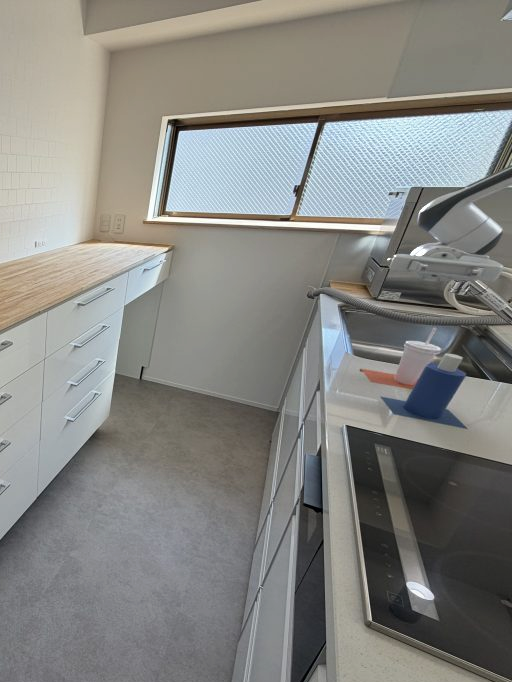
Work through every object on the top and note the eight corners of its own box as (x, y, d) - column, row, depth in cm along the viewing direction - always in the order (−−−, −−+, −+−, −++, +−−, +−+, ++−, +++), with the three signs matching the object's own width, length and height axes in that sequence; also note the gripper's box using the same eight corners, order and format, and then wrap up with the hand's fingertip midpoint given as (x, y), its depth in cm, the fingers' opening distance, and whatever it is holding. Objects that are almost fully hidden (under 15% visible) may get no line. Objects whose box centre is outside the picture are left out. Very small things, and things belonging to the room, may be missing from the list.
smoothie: (428, 387, 99) (459, 333, 93) (401, 386, 99) (431, 331, 93) (405, 376, 105) (433, 324, 99) (380, 375, 105) (407, 322, 99)
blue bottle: (433, 408, 90) (466, 353, 84) (445, 421, 85) (481, 364, 79) (398, 402, 92) (428, 348, 86) (409, 414, 87) (441, 357, 81)
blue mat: (446, 411, 90) (448, 409, 90) (467, 431, 83) (468, 429, 83) (379, 398, 94) (380, 396, 94) (392, 415, 87) (393, 413, 87)
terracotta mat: (422, 381, 104) (423, 379, 104) (437, 395, 97) (438, 393, 97) (359, 370, 109) (360, 368, 109) (369, 383, 102) (370, 381, 101)
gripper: (391, 246, 114) (398, 252, 103) (497, 256, 103) (516, 263, 93) (381, 270, 116) (387, 277, 106) (483, 281, 106) (500, 291, 96)
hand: (448, 270), depth 99 cm, fingers open, 8 cm apart
